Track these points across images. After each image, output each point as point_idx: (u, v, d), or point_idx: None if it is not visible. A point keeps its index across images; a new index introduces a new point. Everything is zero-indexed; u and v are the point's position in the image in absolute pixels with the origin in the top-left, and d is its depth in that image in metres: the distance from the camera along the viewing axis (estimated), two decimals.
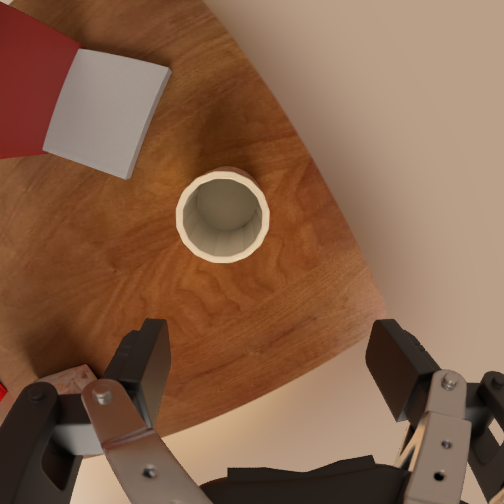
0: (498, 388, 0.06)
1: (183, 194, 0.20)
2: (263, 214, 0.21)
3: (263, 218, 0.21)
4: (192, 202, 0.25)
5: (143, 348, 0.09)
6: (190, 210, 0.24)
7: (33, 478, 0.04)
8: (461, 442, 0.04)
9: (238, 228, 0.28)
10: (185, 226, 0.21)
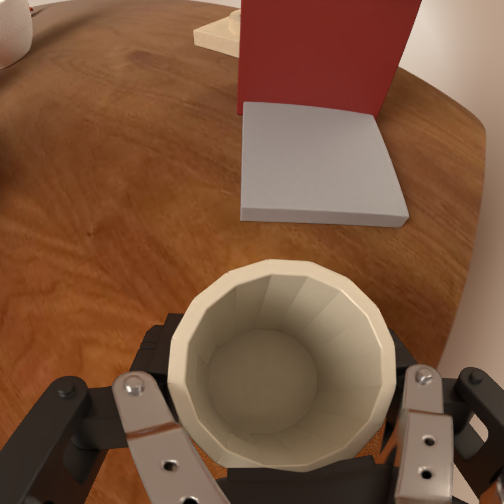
0: (475, 384, 0.07)
1: (305, 264, 0.09)
2: (338, 452, 0.07)
3: (329, 457, 0.07)
4: (255, 315, 0.13)
5: (169, 341, 0.09)
6: (245, 313, 0.12)
7: (52, 471, 0.04)
8: (445, 437, 0.05)
9: (224, 419, 0.13)
10: (230, 296, 0.09)
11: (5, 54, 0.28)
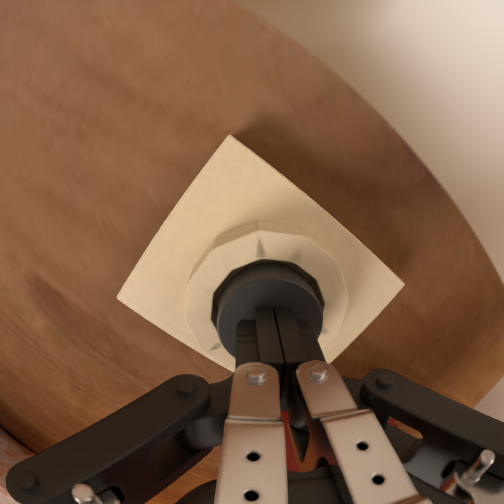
0: (381, 389, 0.07)
1: None
2: None
3: None
4: None
5: (269, 333, 0.10)
6: None
7: (134, 463, 0.05)
8: (376, 436, 0.05)
9: None
10: None
11: None
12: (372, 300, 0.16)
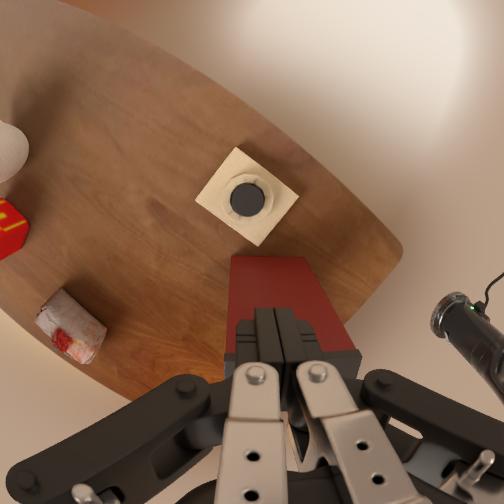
0: (381, 389, 0.07)
1: None
2: None
3: None
4: None
5: (269, 333, 0.10)
6: None
7: (134, 463, 0.05)
8: (376, 435, 0.05)
9: None
10: None
11: (15, 173, 0.41)
12: (286, 201, 0.46)
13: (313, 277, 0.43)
